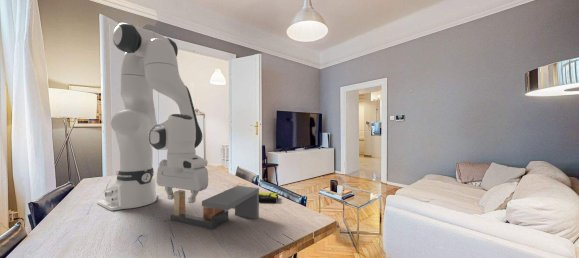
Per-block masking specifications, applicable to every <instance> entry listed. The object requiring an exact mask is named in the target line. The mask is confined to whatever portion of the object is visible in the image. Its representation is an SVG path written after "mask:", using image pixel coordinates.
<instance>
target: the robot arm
mask: <svg viewBox="0 0 579 258" xmlns="http://www.w3.org/2000/svg"><path fill="white" fill-rule="evenodd" d="M112 40H113V41H112V42H113V45H114V46H115V47H116V48H117V49H118V50H119V51H122V52H124V54H123V57H122V61H121V68H120V96H121V99H122V101H123V105H124V110H120V111H117V113H115V114H114V115H112V118H111V120H110V125H111V126H110V127H111V128H112V129H113V131H114V133H115V136H116V141H117V144H118V148H119V170H117V172H116V176H117V177H116V180H115V181H113V183H111V184H110V185H109V186H108V187H107V188H106V190H105V191H104V198H102V199H99V200H98V201H97V204H98V205H99V206H101V207H103V208H105V209H107V210H109V211H117V210H118V211H119V210H123V209H124V210H125V209H134V208H140V207H143V206H147V205H150V204H153V203H155V202H156V201H157V198H158V197H159V194H158V193H157V189H156V187H157V186H158V187H164V190H165V192H166V195H167V199H168V200H174V191H173V189H178V190H185V191H186V190H187V191H190V194H191V195H190V197H188V202H187V203H189V204H194V203H195V202H196V198H197V195H198V194H199V192H202V191H205V190H206V189H207V188H208V187H209V171H208V168H207V166H208V160H207V159H205V158H202V157H201V156H199V155H197V154H196V148H198V146H199V145H201V144H202V141H203V137H204V136H203V133H202V129H201V127H200V125H199V122H198V119H197V115H196V110H195V106H194V102H193V99H192V96H191V92H190V90H189V88H188V86H187V85H185V83H184V82H183V80H182V78H181V76H180V71H179V65H178V58H177V57H178V52H179V50H178V44H177V43H176V42H175V41H174V40H172V38H169V37H167V36H163V35H162V34H160V33H157V32H155V31H152V30H149V29H146V28H142V27H139V26H136V25H133V24H131V23H126V22H120V23H119V24H117V25H116V26H115V28H114V30H113V33H112ZM154 90H155V92H158V93H160V94H161V95H164V96H166V97H168V98H169V99H171V100H173V102H175V103H176V105H177V106H178V110H179V112H180V113H173V114H170V115H168V117H167V119H166V120H164V121H163V122H162V123H159V124H158V120H157V119H156V117H157V115H156V110H155V109H156V108H155V104H154V103H155V102H154ZM152 148H154V149H155V150H157V151H158V150H159V151H166V159H161V160H160V162H159V163H158V164H159V165H158V168H157V171H156V180H155V179H154V174H155V172H154V167H153V149H152ZM156 184H157V186H156Z"/></svg>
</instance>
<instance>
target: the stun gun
mask: <svg viewBox="0 0 579 258" xmlns="http://www.w3.org/2000/svg"><path fill="white" fill-rule="evenodd" d="M278 199H279V193H278V192H261V191H259V204H277V202H278ZM232 209H234V210H235V207H233V208H232Z"/></svg>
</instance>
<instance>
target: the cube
mask: <svg viewBox="0 0 579 258" xmlns="http://www.w3.org/2000/svg"><path fill="white" fill-rule="evenodd" d="M202 207H203V208H202V210H203V211H202V213H203V214H202V218H206V219H211V220H212V216H214V215H215V214H217V213H219V212H221V211H223V210H222V209H216V208H210V207H204V206H202Z"/></svg>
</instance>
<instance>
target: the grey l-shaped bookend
mask: <svg viewBox="0 0 579 258" xmlns="http://www.w3.org/2000/svg"><path fill="white" fill-rule="evenodd" d="M259 192H260V188H259V187H253V186H245V185H244V186H243V185H236V186H233V187H231V188H228V189H227V190H224V191H222V192H220V193H217V194H215V195H212V196H210V197H208V198H206V199H203V200H201V207H210V208H216V209H222V210H227V211H228V212H229V210H231V209H234V208H233V207H235V209H234V216H236V217H243V218H249V219H255V220H257V219H259V217H260V216H259V215H260V214H259V213H260V212H259V211H260V209H259V208H260V205H259V204H260V203H259Z"/></svg>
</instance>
